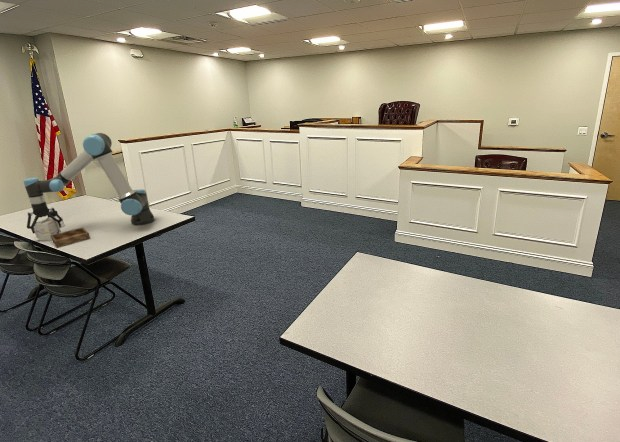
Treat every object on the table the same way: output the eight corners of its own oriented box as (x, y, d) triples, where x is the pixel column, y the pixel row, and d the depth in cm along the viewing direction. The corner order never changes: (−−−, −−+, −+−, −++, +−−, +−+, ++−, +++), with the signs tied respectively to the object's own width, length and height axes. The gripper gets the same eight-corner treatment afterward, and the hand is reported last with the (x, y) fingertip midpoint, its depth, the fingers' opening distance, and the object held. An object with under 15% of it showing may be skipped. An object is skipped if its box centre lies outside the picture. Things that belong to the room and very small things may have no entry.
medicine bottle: (65, 225, 247) (60, 209, 243) (55, 229, 240) (50, 213, 236) (58, 225, 249) (52, 209, 245) (48, 228, 243) (42, 212, 239)
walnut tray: (84, 232, 231) (83, 227, 230) (90, 238, 221) (88, 232, 220) (52, 241, 220) (50, 235, 219) (56, 247, 210) (54, 241, 208)
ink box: (47, 235, 230) (41, 216, 225) (60, 234, 230) (54, 215, 225) (39, 241, 221) (32, 221, 217) (52, 240, 222) (46, 220, 217)
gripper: (59, 197, 228) (69, 228, 235) (13, 206, 212) (25, 238, 220) (61, 199, 222) (71, 230, 230) (14, 208, 207) (26, 241, 215)
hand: (48, 234), depth 225 cm, fingers closed on ink box, 11 cm apart
